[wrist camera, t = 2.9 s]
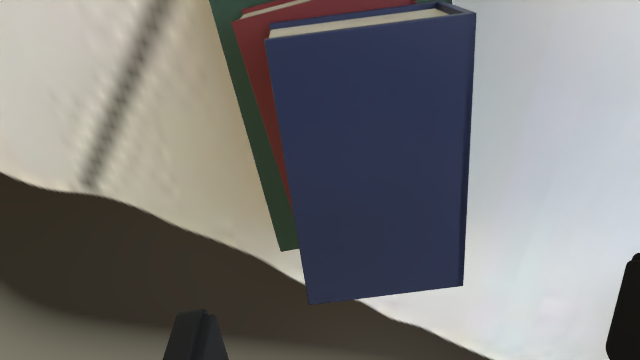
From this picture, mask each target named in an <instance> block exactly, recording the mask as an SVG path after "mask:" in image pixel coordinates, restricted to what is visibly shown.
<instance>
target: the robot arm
mask: <svg viewBox="0 0 640 360" xmlns="http://www.w3.org/2000/svg"><path fill="white" fill-rule="evenodd" d="M606 352H607V355H608V357H609V359H610V360H640V253H637V254H635V255H634V256H633V258H632V260H631V261H629V262H628V263H627V265H626V268H625V272H624V276H623V280H622V284H621V288H620V291H619V295H618V299H617V303H616V307H615V311H614V315H613V319H612V322H611V326H610V330H609V334H608V338H607V342H606ZM163 360H229V359H228V356H227V352H226V349H225V346H224V342H223V339H222V336H221V332H220V329H219V326H218V323H217V319H216V316H215V315H208V314H207V311H206V310H205V309H200V310H192V311H185V312H179V313H178V315H177V317H176V319H175V322H174V326H173V329H172V332H171V335H170V338H169V341H168V345H167V348H166V351H165V354H164V358H163Z"/></svg>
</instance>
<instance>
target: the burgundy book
mask: <svg viewBox="0 0 640 360" xmlns="http://www.w3.org/2000/svg"><path fill="white" fill-rule="evenodd" d="M411 4H417V3H416V0H275V1H271V2H267V3H264V4H260V5H256V6H252V7H249V8H245V9H242V14H243V16H242V17H241V18H240V19H238V20H235V21H232V22H231V23H232V26H233V30H234V33H235V36H236V39H237V42H238V45H239V48H240V51H241V54H242V58H243V61H244V64H245V67H246V70H247V73H248V76H249V79H250V82H251V86H252V89H253V92H254V95H255V98H256V101H257V104H258V107H259V110H260V113H261V117H262V120H263V123H264V126H265V129H266V132H267V135H268V138H269V141H270V145H271V148H272V151H273V154H274V157H275V160H276V163H277V166H278V169H279V173H280V176H281V179H282V182H283V185H284V188H285V191H286V194H287V197H288V201H289V204H290V207H291V210H292V213H293V208H292V202H291V196H290V190H289V184H288V179H287V173H286V167H285V161H284V155H283V149H282V143H281V137H280V131H279V126H278V120H277V114H276V108H275V102H274V96H273V90H272V84H271V79H270V73H269V67H268V61H267V55H266V49H265V43H264V40H265V39H266V38H269V35H270V25H269V24H270V23H272V22H280V21H288V20H295V19H303V18H311V17H318V16H326V15H334V14H342V13H349V12H357V11H365V10H372V9H380V8H388V7H396V6H403V5H411ZM293 216H294V214H293Z"/></svg>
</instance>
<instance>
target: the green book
mask: <svg viewBox="0 0 640 360" xmlns="http://www.w3.org/2000/svg"><path fill="white" fill-rule="evenodd" d="M271 1H275V0H209V2H210V6H211V9H212V13H213V16H214V20H215V23H216V27H217V30H218V34H219V37H220V41H221V44H222V48H223V51H224V55H225V58H226V62H227V65H228V69H229V72H230V76H231V79H232V83H233V86H234V90H235V93H236V97H237V100H238V104H239V107H240V111H241V114H242V118H243V121H244V125H245V128H246V132H247V135H248V139H249V142H250V146H251V149H252V153H253V156H254V160H255V163H256V167H257V170H258V174H259V177H260V181H261V184H262V188H263V192H264V195H265V199H266V202H267V206H268V209H269V213H270V216H271V220H272V223H273V227H274V230H275V234H276V237H277V241H278V244H279V248H280V251H281V252H283V251H288V250H293V249H299V243H298V237H297V232H296V226H295V220H294V216H293V213H292V210H291V207H290V204H289V201H288V197H287V194H286V191H285V188H284V185H283V182H282V179H281V176H280V173H279V169H278V166H277V163H276V160H275V157H274V154H273V151H272V148H271V145H270V141H269V138H268V135H267V132H266V129H265V126H264V123H263V120H262V117H261V113H260V110H259V107H258V104H257V101H256V98H255V95H254V92H253V89H252V86H251V82H250V79H249V76H248V73H247V70H246V67H245V64H244V61H243V58H242V54H241V51H240V48H239V45H238V42H237V39H236V36H235V33H234V30H233V26H232V23H231V22H232V21H235V20H238V19H240V18H241V17H242V16H243V14H242V9H245V8H249V7H252V6H256V5H260V4H264V3H267V2H271ZM434 1H444V2H447V3H450V4H452V0H416V3H417V4H419V3H426V2H434Z"/></svg>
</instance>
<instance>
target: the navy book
mask: <svg viewBox="0 0 640 360" xmlns="http://www.w3.org/2000/svg"><path fill="white" fill-rule="evenodd" d="M269 25H270V35H269V38H266V39H265V40H264V43H265V49H266V55H267V61H268V67H269V73H270V79H271V84H272V90H273V96H274V102H275V108H276V114H277V120H278V126H279V131H280V137H281V143H282V149H283V155H284V161H285V167H286V173H287V179H288V184H289V190H290V196H291V202H292V208H293V214H294V220H295V226H296V232H297V237H298V243H299V249H300V255H301V261H302V267H303V273H304V279H305V285H306V290H307V296H308V302H309V305H312V304H321V303H329V302H337V301H345V300H353V299H361V298H369V297H377V296H385V295H393V294H401V293H409V292H417V291H425V290H433V289H441V288H450V287H458V286H463V278H464V257H465V236H466V216H467V195H468V175H469V154H470V133H471V113H472V92H473V72H474V51H475V30H476V13H475V12H472V11H469V10H466V9H463V8H461V7H458V6H455V5H452V4H450V3H447V2H444V1H434V2H426V3H419V4H411V5H403V6H396V7H388V8H380V9H372V10H365V11H357V12H349V13H342V14H334V15H326V16H318V17H311V18H303V19H295V20H288V21H280V22H272V23H270V24H269Z"/></svg>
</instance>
